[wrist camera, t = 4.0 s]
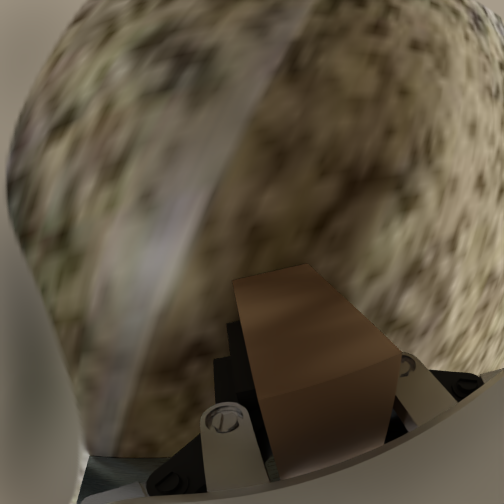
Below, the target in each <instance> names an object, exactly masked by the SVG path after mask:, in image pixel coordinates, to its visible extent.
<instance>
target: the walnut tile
mask: <svg viewBox="0 0 504 504" xmlns="http://www.w3.org/2000/svg"><path fill="white" fill-rule="evenodd" d="M232 282H233V287H234V292H235V297H236V302H237V307H238V312H239V316H240V321H241V326H242V331H243V335H244V340H245V345H246V349H247V354H248V358H249V363H250V367H251V372H252V376H253V381H254V385H255V389H256V394H257V398H258V402H259V406H260V409H261V413H262V417H263V420H264V424H265V428H266V431H267V435H268V438H269V442H270V446H271V449H272V453H273V456H274V459H275V463H276V466H277V470H278V473H279V476H280V480H284V479H288V478H292V477H296V476H300V475H303V474H307V473H310V472H313V471H317V470H320V469H323V468H326V467H329V466H332V465H335V464H338V463H341V462H343V461H346V460H349V459H351V458H354V457H356V456H359V455H361V454H364V453H366V452H369V451H371V450H373V449H376V448H378V447H380V446H382V445H384V441H385V438H386V434H387V430H388V426H389V422H390V418H391V413H392V409H393V404H394V399H395V394H396V389H397V383H398V377H399V371H400V364H401V357H402V352H401V351H400V350H399V349H398V348H397V347H396V346H395V345H394V344H393V343H392V342H391V341H390V340H389V339H388V338H387V337H386V336H385V335H384V334H383V333H382V332H381V331H379V330H378V329H377V328H376V327H375V326H374V325H373V324H372V323H371V322H370V321H369V320H368V319H367V318H366V317H365V316H364V315H363V314H362V313H361V312H359V311H358V310H357V309H356V308H355V307H354V306H353V305H352V304H351V303H350V302H349V301H348V300H347V299H346V298H344V297H343V296H342V295H341V294H340V293H339V292H338V291H337V290H336V289H335V288H334V287H333V286H331V285H330V284H329V283H328V282H327V281H326V280H325V279H324V278H323V277H322V276H321V275H319V274H318V273H317V272H316V271H315V270H314V269H313V268H312V267H311V266H310V265H308V264H307V263H306V264H302V265H298V266H293V267H289V268H285V269H280V270H276V271H272V272H267V273H263V274H258V275H254V276H249V277H245V278H240V279H236V280H232Z"/></svg>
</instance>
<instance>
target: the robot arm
mask: <svg viewBox="0 0 504 504" xmlns="http://www.w3.org/2000/svg"><path fill="white" fill-rule="evenodd" d="M227 332H228V340H229V348H230V355H231V356H228V357H223V358H217V359H214V361H213V363H214V384H215V402H216V404H215V405H213V406H211V407H210V408H208V409H207V410H206V411H205V412H204V413H203V414H202V416H201V418H200V432H201V433H200V434H199V435H198V436H197V437H195V438H194V439H193V440H192V441H191V442H190V443H188V444H187V445H186V446H185V447H184V448H182V449H181V450H180V451H179V452H178V453H176V454H175V455H174V456H173V457H171V458H170V459H169V460H168V461H166V462H165V463H164V464H163V465H161V466H160V467H159V468H157V469H156V470H155V471H154V472H153V473H152V474H151V475H150V476H149V478H148V480H147V482H144V483H140V482H139V481H137V482H134V483H131V484H128V485H125V486H122V487H119V488H116V489H112V490H109V491H105V492H102V493H98V494H94V495H91V496H88V497H86V498H85V499H84V500H83V501H82V502H81V504H504V368H502V369H499V370H495V371H491V372H487V373H483V374H480V376H479V377H478V376H477V375H474V374H471V373H463V372H449V371H438V370H428V369H427V368H426V367H425V366H424V365H423V364H422V363H421V361H420V360H419V359H418V358H417V357H415V356H414V355H412V354H410V353H406V352H402V357H401V364H400V371H399V377H398V383H397V389H396V394H395V399H394V404H393V409H392V413H391V418H390V422H389V426H388V430H387V434H386V438H385V441H384V445H382V446H380V447H378V448H376V449H373V450H371V451H369V452H366V453H364V454H361V455H359V456H356V457H354V458H351V459H349V460H346V461H343V462H341V463H338V464H335V465H332V466H329V467H326V468H323V469H320V470H317V471H313V472H310V473H307V474H303V475H300V476H296V477H292V478H288V479H284V480H280V481H276V482H271V481H270V478H269V475H268V471H267V468H266V465H265V462H266V461H267V460H268V459H269V458H270V457H271V455H272V454H273V453H272V449H271V446H270V442H269V438H268V435H267V431H266V428H265V424H264V420H263V417H262V413H261V409H260V406H259V402H258V398H257V394H256V389H255V385H254V381H253V376H252V372H251V367H250V363H249V358H248V354H247V349H246V345H245V340H244V335H243V331H242V326H241V322H240V321H236V322H231V323H227Z"/></svg>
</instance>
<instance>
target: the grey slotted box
mask: <svg viewBox="0 0 504 504" xmlns="http://www.w3.org/2000/svg"><path fill="white" fill-rule="evenodd" d="M169 459H170V458H109V457H96V456H90V457H89V460H88V463H87V467H86V470H85V474H84V477H83V481H82V484H81V488H80V492H79V496H78V500H77V504H81V502H82V501H83V500H84V499H85V498H86V497H88V496H91V495H94V494H98V493H102V492H105V491H109V490H112V489H116V488H119V487H122V486H125V485H128V484H131V483H134V482H137V481H139V482H140V483H144V482H147V480H148V478H149V476H150V475H151V474H152V473H153V472H154V471H155V470H156V469H157V468H159V467H160V466H161V465H163V464H164V463H165V462H166V461H168V460H169ZM265 465H266V468H267V471H268V475H269V478H270V481H271V482H276V481H280V476H279V473H278V470H277V466H276V463H275V459H274V456H273V454H272V455H271V457H270V458H269V459H268V460H267V461H266V462H265Z"/></svg>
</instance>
